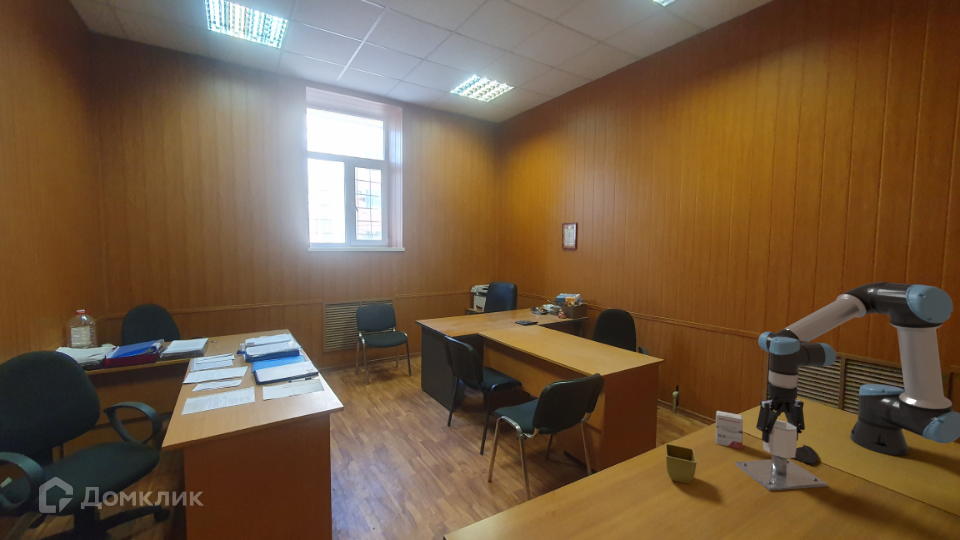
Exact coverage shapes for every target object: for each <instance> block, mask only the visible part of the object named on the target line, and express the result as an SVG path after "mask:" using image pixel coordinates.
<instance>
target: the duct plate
mask: <svg viewBox="0 0 960 540" xmlns="http://www.w3.org/2000/svg"><path fill="white" fill-rule="evenodd" d="M734 464H735V466H736V467H738V468H739V469H740V470H741V471H742V472H744V473H745V474H747V475H748V476H749V477H751V478H752V479H754V481H756V482H757V483H758V484H760V485H761V486H762V487H763V488H765V489H766V490H768V491H770V492H771V491H782V490H783V491H784V490H797V489H808V488H812V489H813V488H821V487H822V488H823V487H828V483H827V482H826V481H824V480H823V479H821V478H819V477H818V476H816V475H814V473H811V472H810V471H809V470H806V468H803V467H802V466H800V465H799V464H796V463H795V462H794V461H792V459H790V458H783V457H780V456H776V455H773V454H771V459H759V460H757V459H756V460H744V461H742V460H741V461H735V462H734Z"/></svg>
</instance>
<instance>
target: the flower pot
mask: <svg viewBox="0 0 960 540" xmlns="http://www.w3.org/2000/svg"><path fill="white" fill-rule="evenodd" d="M664 446H665V447H664V448H665V460H666V470H667V474H668V477H669V478H670V480H671V481H675V482H678V481H679V483H684V484H690V483H691V482H692V481H693V479H694V477H695V474H696V468H697V463H698V462H697V457H696V453H695V449H694V448H690V447H687V446H686V447H685V446H680V445H675V444H671V443H665V444H664Z"/></svg>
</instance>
